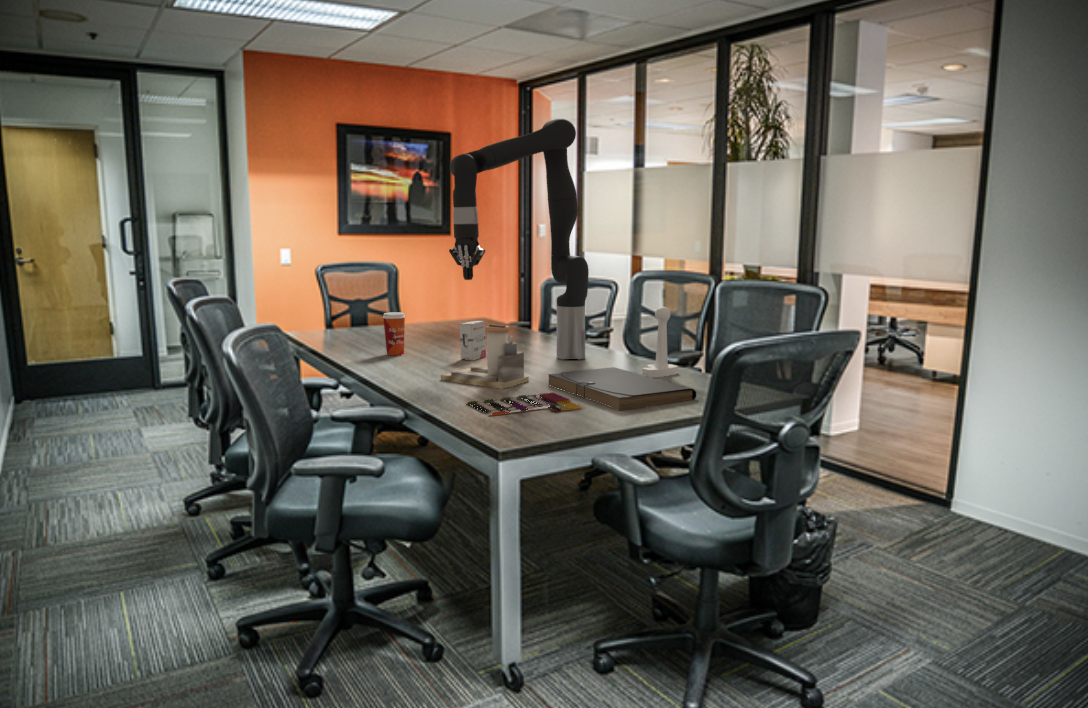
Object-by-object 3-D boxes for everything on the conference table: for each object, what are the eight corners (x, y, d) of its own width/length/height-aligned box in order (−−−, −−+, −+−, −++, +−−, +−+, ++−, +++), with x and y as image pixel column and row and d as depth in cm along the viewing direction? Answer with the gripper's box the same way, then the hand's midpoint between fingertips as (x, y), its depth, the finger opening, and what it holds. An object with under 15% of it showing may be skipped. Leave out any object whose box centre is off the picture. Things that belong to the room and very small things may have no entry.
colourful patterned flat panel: (555, 396, 198) (555, 386, 197) (589, 411, 183) (590, 400, 182) (465, 407, 186) (465, 396, 186) (494, 424, 171) (494, 412, 171)
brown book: (547, 372, 207) (619, 365, 219) (547, 387, 208) (618, 379, 220) (618, 396, 179) (696, 386, 191) (618, 413, 180) (696, 402, 192)
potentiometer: (502, 354, 207) (502, 336, 206) (510, 352, 210) (509, 334, 209) (512, 355, 205) (512, 337, 205) (519, 354, 208) (519, 335, 207)
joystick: (651, 378, 217) (653, 308, 213) (634, 374, 223) (635, 306, 220) (680, 374, 223) (682, 306, 219) (663, 369, 229) (665, 303, 226)
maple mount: (440, 379, 216) (440, 350, 214) (468, 372, 225) (467, 344, 224) (502, 389, 203) (501, 358, 202) (528, 381, 213) (528, 351, 212)
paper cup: (391, 357, 252) (389, 315, 249) (379, 354, 257) (377, 313, 255) (411, 354, 257) (410, 313, 255) (399, 351, 263) (398, 311, 260)
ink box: (473, 355, 255) (472, 320, 253) (486, 356, 253) (485, 321, 251) (459, 359, 247) (458, 323, 245) (472, 360, 245) (472, 324, 243)
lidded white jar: (481, 377, 211) (480, 325, 208) (495, 373, 216) (495, 322, 213) (499, 380, 207) (499, 327, 204) (514, 376, 212) (514, 324, 210)
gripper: (440, 223, 231) (443, 280, 234) (474, 222, 224) (477, 281, 227) (457, 222, 237) (459, 277, 240) (490, 221, 230) (492, 279, 233)
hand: (468, 279), depth 234 cm, fingers closed
